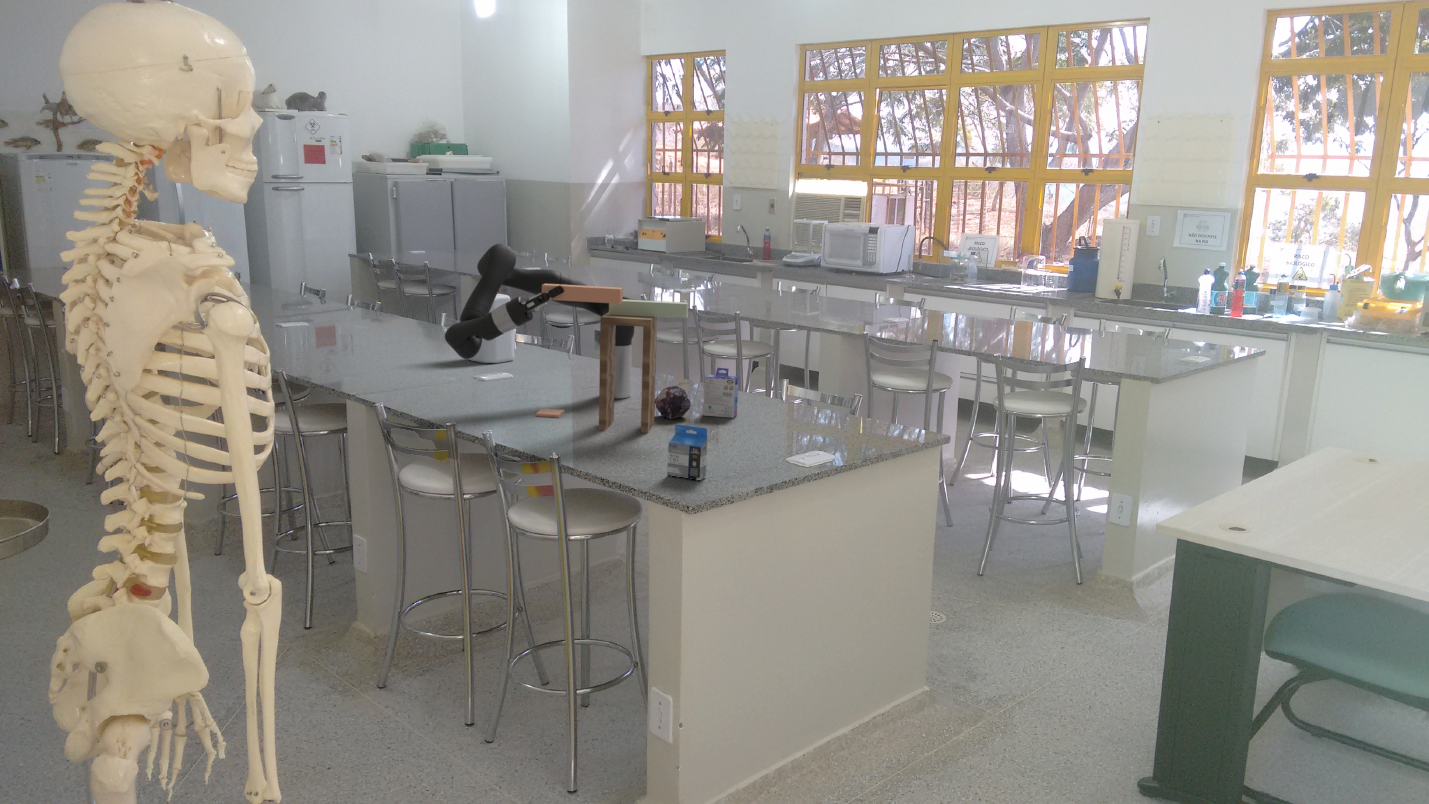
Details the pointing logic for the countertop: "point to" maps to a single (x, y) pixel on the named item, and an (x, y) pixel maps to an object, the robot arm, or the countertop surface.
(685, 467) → the label tape box
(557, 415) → the tile
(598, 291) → the terracotta rod
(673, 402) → the mineral specimen
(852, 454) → the countertop surface
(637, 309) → the sage rod
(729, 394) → the ink cartridge box
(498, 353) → the plastic bottle
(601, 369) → the wooden stand
